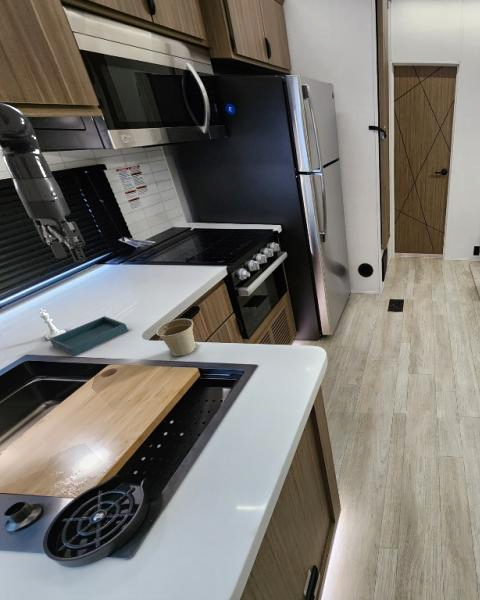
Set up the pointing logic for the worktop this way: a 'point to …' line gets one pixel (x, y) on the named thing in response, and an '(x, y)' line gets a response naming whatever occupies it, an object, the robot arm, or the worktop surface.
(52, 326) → the chess piece
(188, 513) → the worktop surface
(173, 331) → the flower pot
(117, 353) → the worktop surface
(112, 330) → the tray
